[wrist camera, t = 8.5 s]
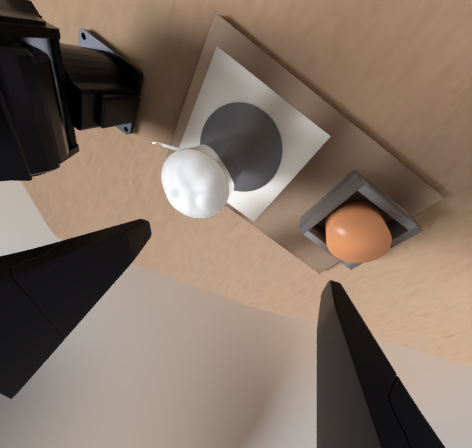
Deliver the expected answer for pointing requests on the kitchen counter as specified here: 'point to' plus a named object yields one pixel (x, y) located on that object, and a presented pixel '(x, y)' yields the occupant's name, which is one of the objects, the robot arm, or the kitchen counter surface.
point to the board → (292, 150)
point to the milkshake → (204, 175)
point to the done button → (357, 232)
